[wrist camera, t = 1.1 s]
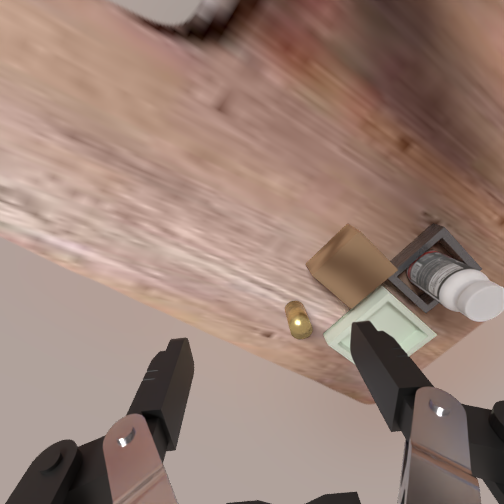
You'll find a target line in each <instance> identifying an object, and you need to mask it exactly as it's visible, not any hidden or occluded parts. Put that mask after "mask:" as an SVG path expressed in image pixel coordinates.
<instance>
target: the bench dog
mask: <svg viewBox="0 0 504 504" xmlns="http://www.w3.org/2000/svg"><path fill="white" fill-rule="evenodd" d="M285 313H286V317H287V320H288V324H289V328H290V331H291V335H292V336H293V337H294V338H296V339H305V338H307V337H309V336H310V335H311V333H312V330H313V329H312V326H311V323H310V321H309V318H308V316H307V313H306V311H305V308H304V306H303V304H302V303H301V302H299V301H292V302H289V303H288V304H287V305H286V307H285Z"/></svg>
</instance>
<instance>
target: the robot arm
mask: <svg viewBox="0 0 504 504" xmlns="http://www.w3.org/2000/svg"><path fill="white" fill-rule="evenodd" d="M350 351H351V356H352V359H353V361H354V363H355V365H356V367H357V368H358V370H359V372H360V374H361V376H362V378H363V380H364V382H365V384H366V385H367V387H368V389H369V391H370V393H371V395H372V397H373V399H374V401H375V402H376V404H377V406H378V408H379V410H380V412H381V414H382V415H383V417H384V419H385V421H386V423H387V425H388V427H389V429H390V430H391V432H395V431H402V433H403V435H404V436H405V438H406V440H405V447H404V455H403V463H402V471H401V480H400V487H399V495H398V502H397V504H481V497H480V489H479V483H478V480H477V478H481V479H483V481H484V482H485V484H486V485H487V487H488V488H489V490H490V491H491V493H492V494H493V495H494V497H495V498H496V500H497V501H498V503H499V504H504V401H499V402H496V403H495V405H494V406H493V409H492V410H489V409H483V408H479V407H473V406H469V405H464V404H461V403H460V402H459V401H458V400H457V399H456V398H454V397H453V396H452V395H450V394H449V393H447V392H445V391H443V390H441V389H438V388H435V387H434V386H433V385H432V384H431V383H430V381H429V380H428V379H427V378H426V377H425V375H424V374H423V373H422V372H421V370H420V369H419V368H418V367H417V365H416V364H415V363H414V362H413V361H412V359H411V358H410V357H408V354H407V353H406V352H405V351H404V350H403V349H402V348H401V346H400V345H399V343H398V342H397V341H396V340H395V339H394V338H393V337H392V336H390V335H389V334H387V333H386V332H385V331H377V329H376V328H375V327H374V325H373V324H372V323H371V322H370V321H359V322H353V323H352V326H351V340H350ZM193 374H194V361H193V357H192V353H191V349H190V345H189V342H188V339H187V338H178V339H171V340H170V342H169V344H168V346H167V349H166V351H160V352H159V353H158V354H157V355H156V356H155V357H154V358H153V360H152V361H151V363H150V365H149V367H148V369H147V373H146V374H145V376H144V378H143V381H142V382H141V385H140V387H139V389H138V391H137V393H136V395H135V398H134V400H133V402H132V404H131V406H130V409H129V411H128V413H127V415H126V416H125V417H123V418H121V419H120V420H118V421H117V422H116V423H115V424H114V425H113V426H112V427H111V428H110V429H109V431H108V432H107V434H106V435H105V436H103V437H101V438H99V439H96V440H94V441H91V442H89V443H86V444H84V445H82V446H79V447H78V446H77V445H76V443H75V442H74V441H72V440H62V441H59V442H57V443H55V444H53V445H51V446H50V447H48V448H47V449H45V450H44V451H43V452H42V453H41V454H40V455H39V456H38V457H37V458H36V459H35V460H34V461H33V462H32V464H31V465H30V467H29V468H28V469H27V471H26V472H25V474H24V476H23V477H22V479H21V480H20V482H19V483H18V485H17V486H16V488H15V490H14V491H13V492H12V494H11V496H10V497H9V499H8V500H7V502H6V503H5V504H178V502H177V499H176V496H175V494H174V491H173V489H172V486H171V483H170V481H169V478H168V476H167V473H166V470H165V468H164V465H163V461H164V457H165V453H166V451H173V450H176V446H177V442H178V438H179V433H180V429H181V425H182V421H183V416H184V412H185V408H186V404H187V399H188V396H189V391H190V387H191V383H192V379H193ZM476 477H477V478H476ZM227 504H270V503H266V502H263V501H259V500H257V501H246V502H234V503H227ZM306 504H361V503H360V500H359V497H358V494H357V492H349V493H337V494H325V495H323V496H321V497H319V498H316V499H314V500H312V501H310V502H308V503H306Z"/></svg>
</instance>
